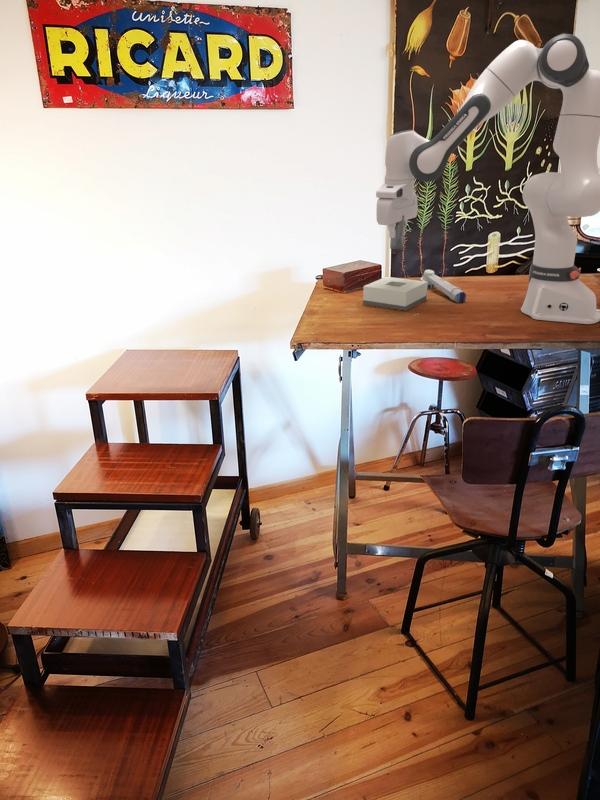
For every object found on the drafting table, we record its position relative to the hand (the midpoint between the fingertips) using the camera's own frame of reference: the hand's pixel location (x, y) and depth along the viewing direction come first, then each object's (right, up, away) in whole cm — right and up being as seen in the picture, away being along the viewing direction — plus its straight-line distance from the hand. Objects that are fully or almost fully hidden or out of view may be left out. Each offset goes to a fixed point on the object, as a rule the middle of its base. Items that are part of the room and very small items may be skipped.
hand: (397, 236), depth 186 cm
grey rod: (+18, -15, +17) cm, 29 cm away
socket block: (+1, -19, +9) cm, 21 cm away
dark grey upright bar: (0, -3, +2) cm, 4 cm away
